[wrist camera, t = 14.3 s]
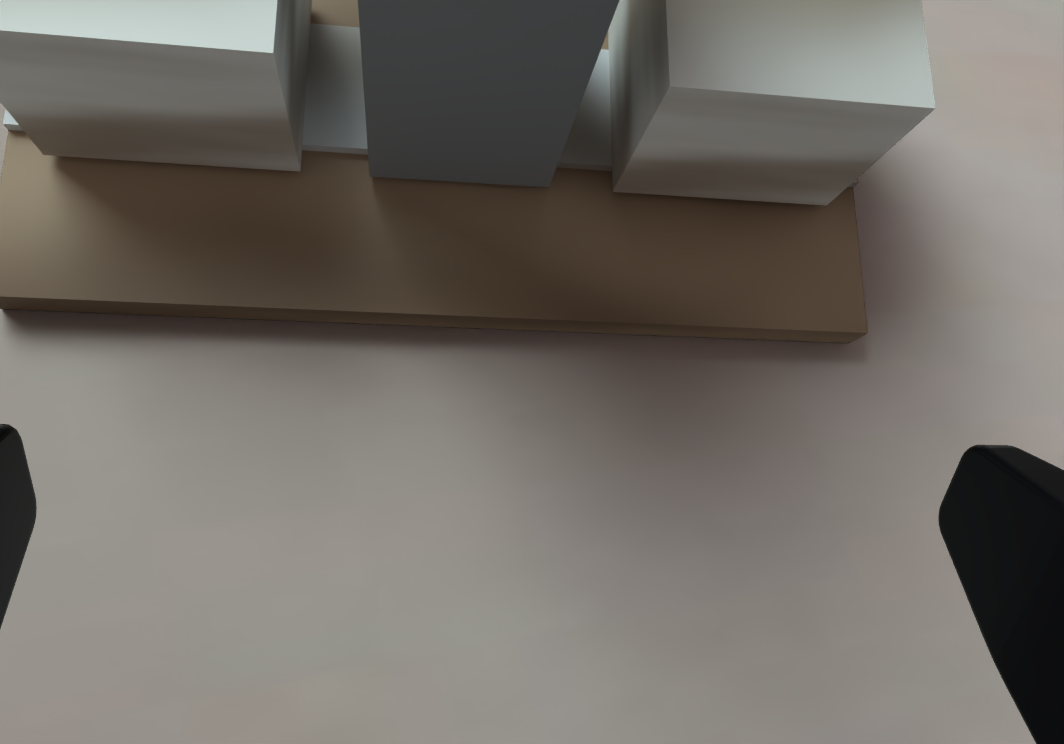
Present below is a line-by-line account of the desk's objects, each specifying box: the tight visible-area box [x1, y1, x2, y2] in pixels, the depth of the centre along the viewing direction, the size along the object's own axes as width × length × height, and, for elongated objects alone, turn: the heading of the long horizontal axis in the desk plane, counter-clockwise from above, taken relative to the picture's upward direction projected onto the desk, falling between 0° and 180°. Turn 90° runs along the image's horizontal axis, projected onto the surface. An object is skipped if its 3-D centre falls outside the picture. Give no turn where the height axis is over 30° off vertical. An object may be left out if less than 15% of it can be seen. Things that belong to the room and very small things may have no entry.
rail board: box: [0, 0, 935, 343], centre depth 21 cm, size 12×22×6 cm, turn 90°
